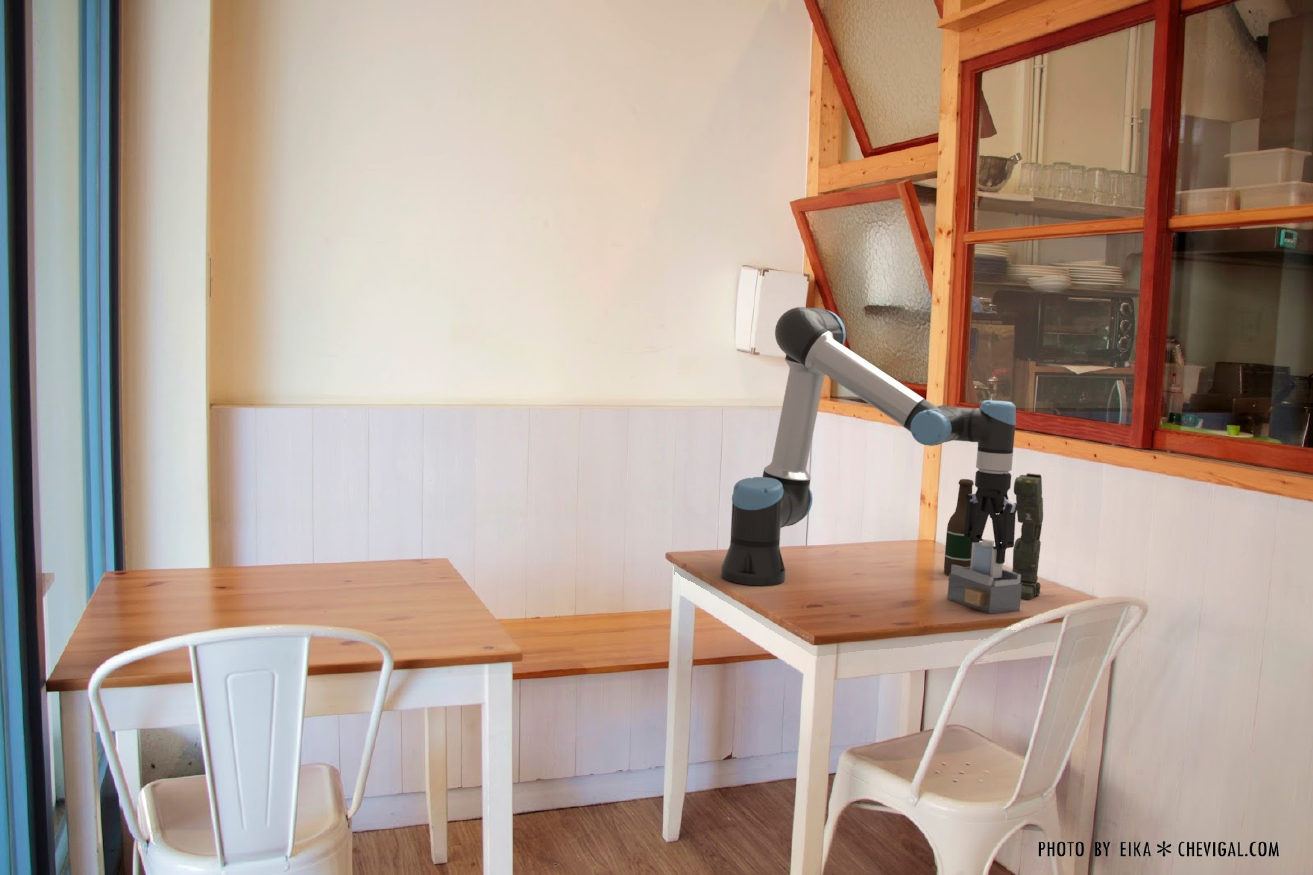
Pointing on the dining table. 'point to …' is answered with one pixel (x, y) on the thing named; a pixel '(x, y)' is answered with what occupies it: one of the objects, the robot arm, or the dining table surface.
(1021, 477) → the mechanical leg
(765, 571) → the robot arm
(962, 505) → the beer bottle
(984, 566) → the light blue bottle
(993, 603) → the open grey metal box
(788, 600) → the dining table surface
